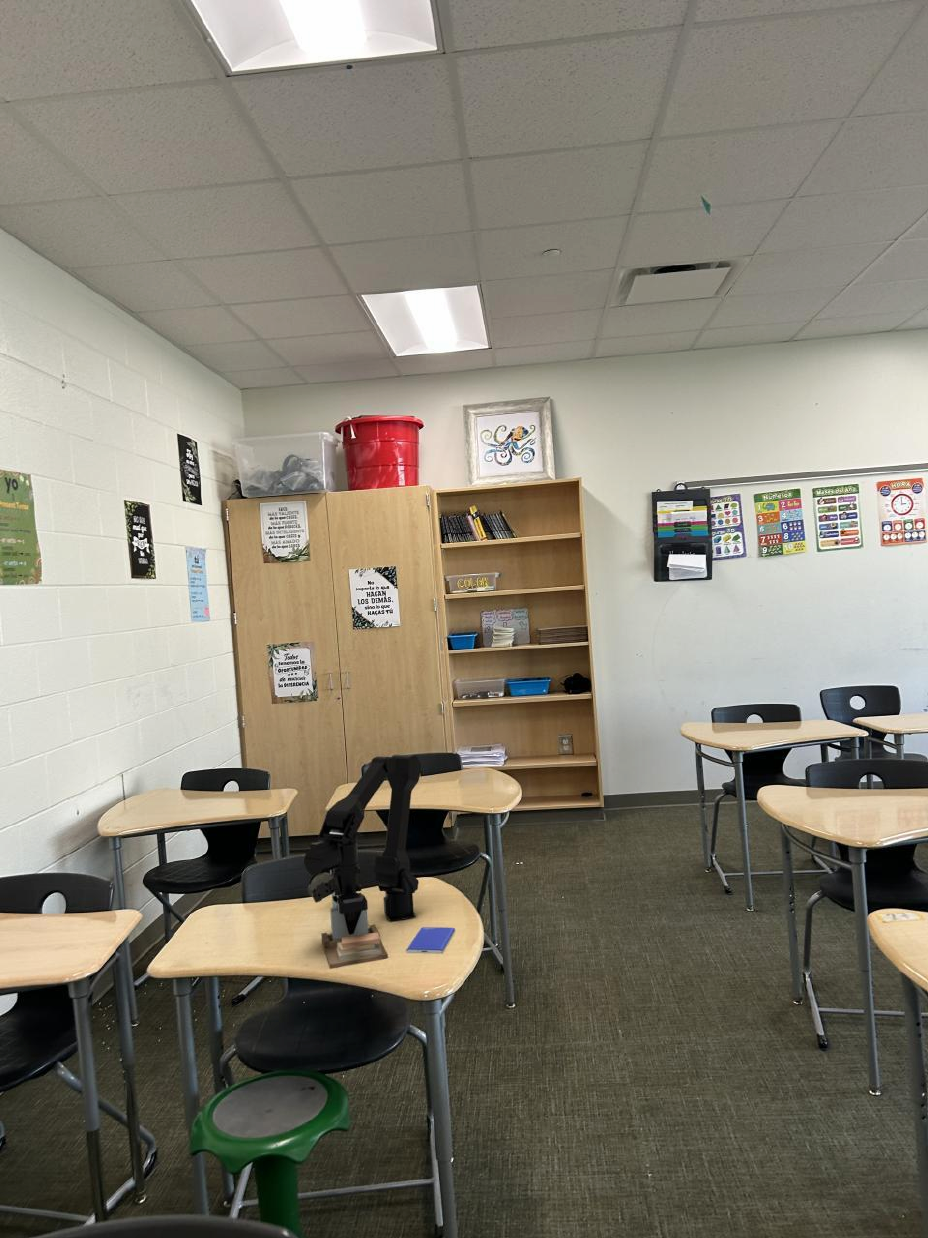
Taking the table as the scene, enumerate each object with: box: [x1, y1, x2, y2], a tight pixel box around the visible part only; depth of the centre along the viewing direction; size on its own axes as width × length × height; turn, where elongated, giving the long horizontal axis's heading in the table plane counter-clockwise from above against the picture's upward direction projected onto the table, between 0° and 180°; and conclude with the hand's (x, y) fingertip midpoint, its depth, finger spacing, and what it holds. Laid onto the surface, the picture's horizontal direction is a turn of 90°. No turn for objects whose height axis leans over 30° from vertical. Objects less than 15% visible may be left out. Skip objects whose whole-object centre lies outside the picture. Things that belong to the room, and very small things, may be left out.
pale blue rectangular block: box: [329, 907, 369, 941], centre depth 184 cm, size 8×2×8 cm, turn 106°
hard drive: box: [405, 926, 456, 955], centre depth 181 cm, size 2×8×12 cm
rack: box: [321, 924, 389, 969], centre depth 180 cm, size 12×15×2 cm
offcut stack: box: [337, 932, 382, 961], centre depth 176 cm, size 9×5×3 cm, turn 106°
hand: (350, 931), depth 184 cm, fingers open, 3 cm apart
